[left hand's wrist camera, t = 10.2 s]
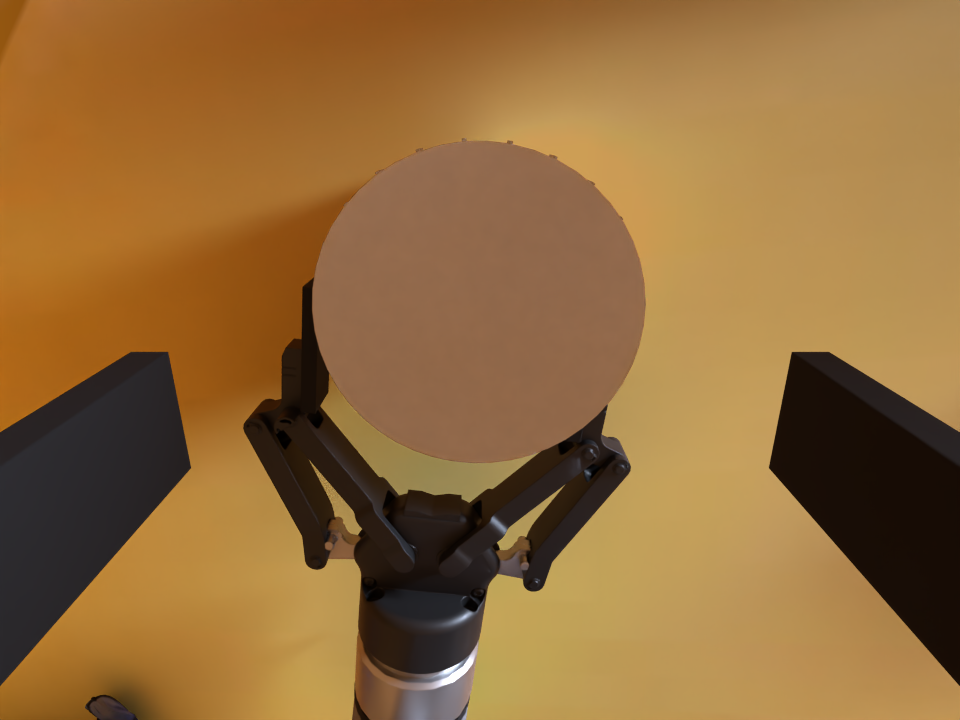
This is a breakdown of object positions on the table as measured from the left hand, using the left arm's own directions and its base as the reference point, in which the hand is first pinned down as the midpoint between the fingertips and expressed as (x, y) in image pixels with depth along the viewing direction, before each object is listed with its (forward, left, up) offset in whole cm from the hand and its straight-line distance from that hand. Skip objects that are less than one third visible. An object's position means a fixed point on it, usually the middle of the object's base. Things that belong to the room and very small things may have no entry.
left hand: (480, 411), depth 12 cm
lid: (0, 0, -7) cm, 7 cm away
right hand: (+2, -1, -17) cm, 17 cm away
